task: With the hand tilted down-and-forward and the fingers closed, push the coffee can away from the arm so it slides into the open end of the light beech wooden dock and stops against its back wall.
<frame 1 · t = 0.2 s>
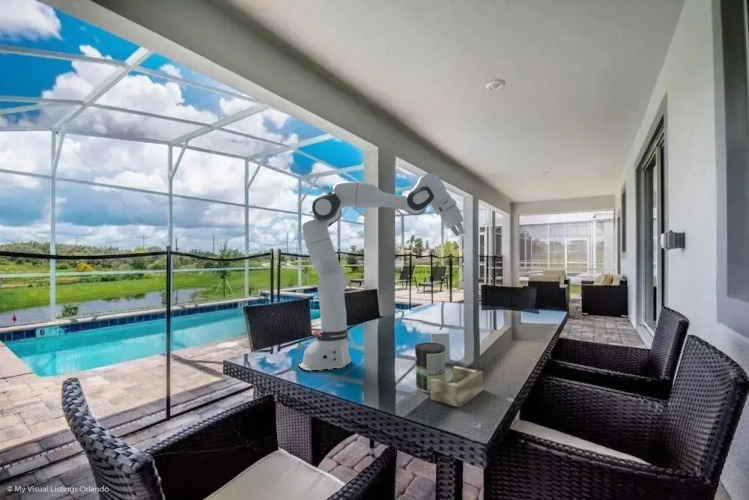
hand: (460, 234, 148), 54 cm above the table, tool tilted 30°, fingers open, 8 cm apart
coffee can: (430, 387, 118), on the table
wooden dock: (452, 392, 113), on the table
supplement box: (440, 361, 147), on the table
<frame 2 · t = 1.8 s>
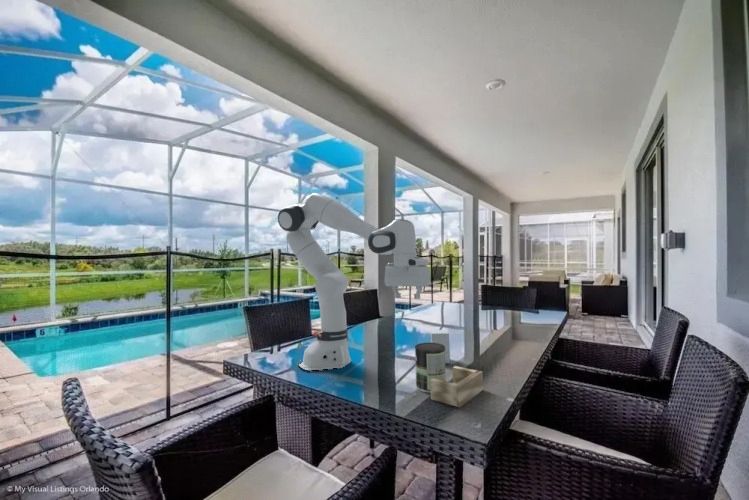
hand: (407, 298, 130), 29 cm above the table, tool pointing down, fingers open, 8 cm apart
nothing on the table moved.
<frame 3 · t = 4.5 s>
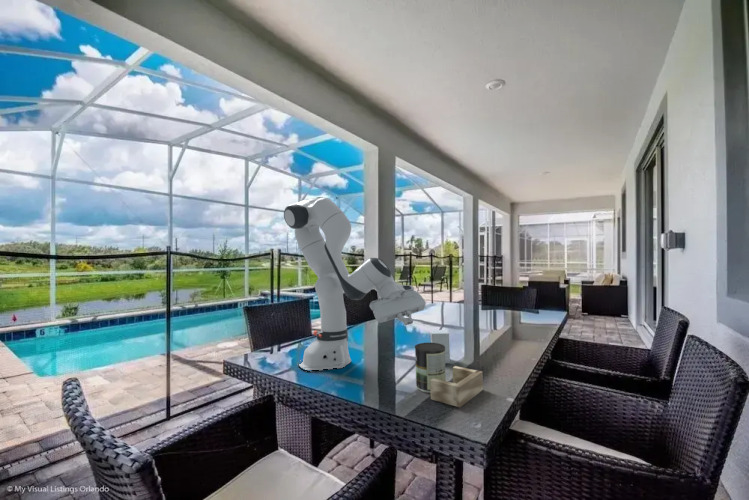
hand: (409, 323, 123), 21 cm above the table, tool tilted 50°, fingers closed
nothing on the table moved.
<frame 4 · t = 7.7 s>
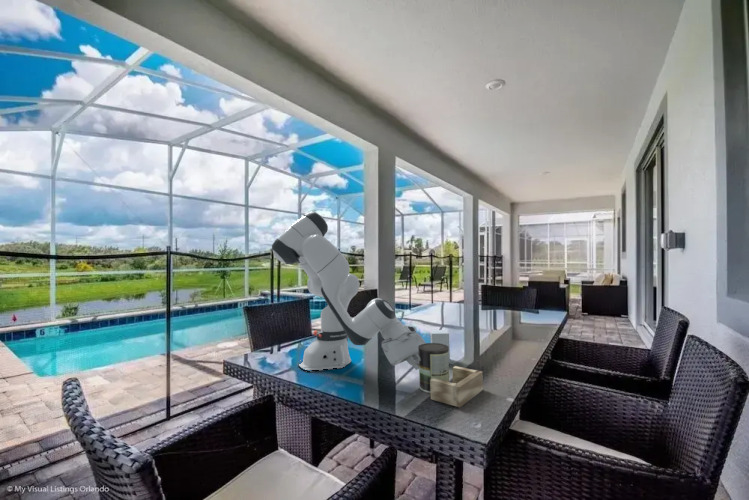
hand: (419, 367, 121), 6 cm above the table, tool tilted 45°, fingers closed, pressing on coffee can
coffee can: (434, 388, 118), on the table, touching gripper
everything else where it was.
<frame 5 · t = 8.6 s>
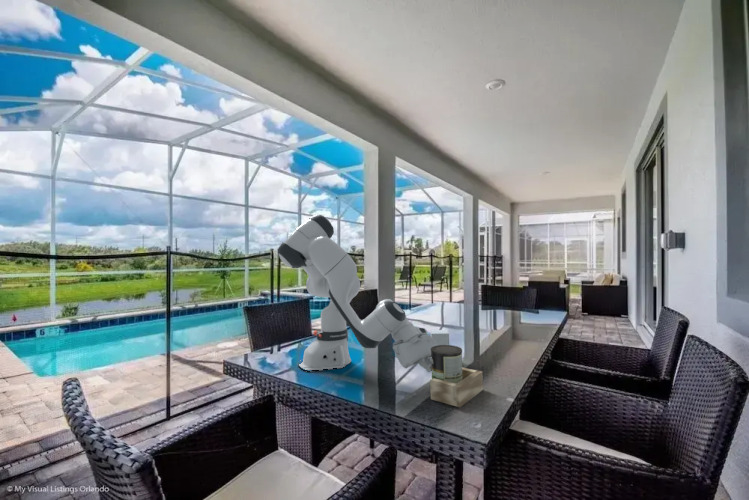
hand: (432, 370, 118), 6 cm above the table, tool tilted 45°, fingers closed, pressing on coffee can
coffee can: (447, 391, 114), on the table, touching gripper
everything else where it was.
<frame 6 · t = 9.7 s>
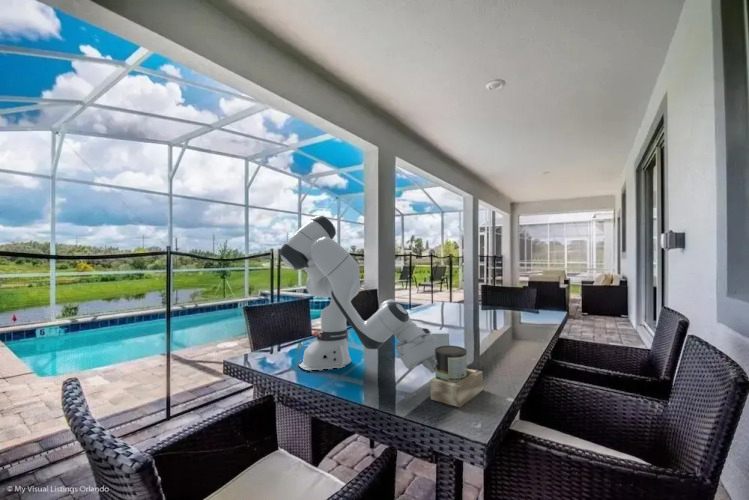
hand: (435, 371, 117), 6 cm above the table, tool tilted 45°, fingers closed, pressing on coffee can
coffee can: (451, 392, 114), on the table, touching gripper
everything else where it was.
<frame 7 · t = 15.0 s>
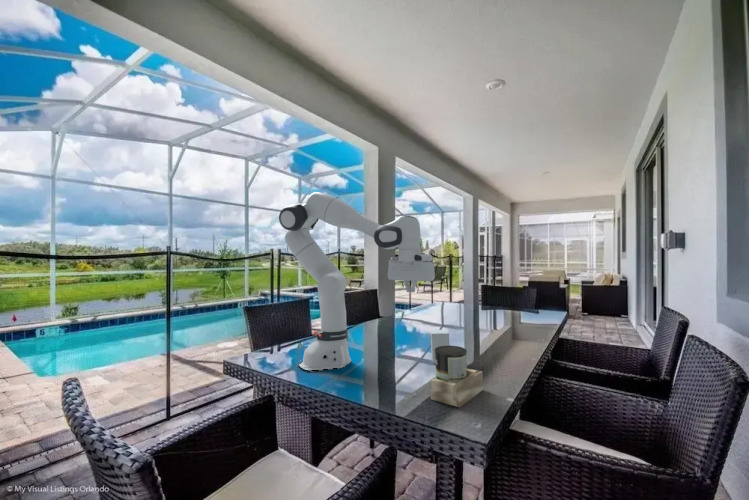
hand: (410, 292, 134), 31 cm above the table, tool pointing down, fingers closed
coffee can: (451, 392, 114), on the table
everything else where it was.
at the end: coffee can 0.5 cm from the wooden dock (horizontally); coffee can tilted 0°; coffee can moved 7.7 cm from its start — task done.
